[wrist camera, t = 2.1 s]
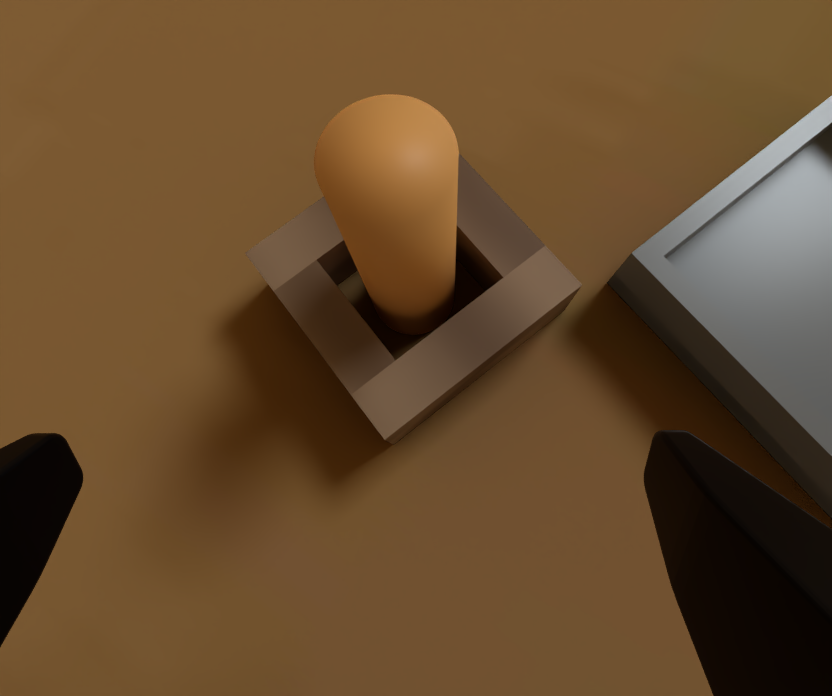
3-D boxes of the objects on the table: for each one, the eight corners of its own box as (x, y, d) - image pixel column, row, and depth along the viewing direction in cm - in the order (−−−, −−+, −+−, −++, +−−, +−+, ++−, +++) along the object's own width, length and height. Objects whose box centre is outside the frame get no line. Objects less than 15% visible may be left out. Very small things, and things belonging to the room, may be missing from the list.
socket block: (393, 444, 21) (384, 440, 18) (271, 281, 23) (244, 253, 20) (564, 310, 21) (581, 285, 18) (431, 164, 23) (428, 121, 21)
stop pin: (406, 351, 21) (370, 250, 12) (357, 290, 22) (286, 149, 13) (471, 301, 22) (488, 164, 12) (420, 242, 23) (399, 69, 13)
